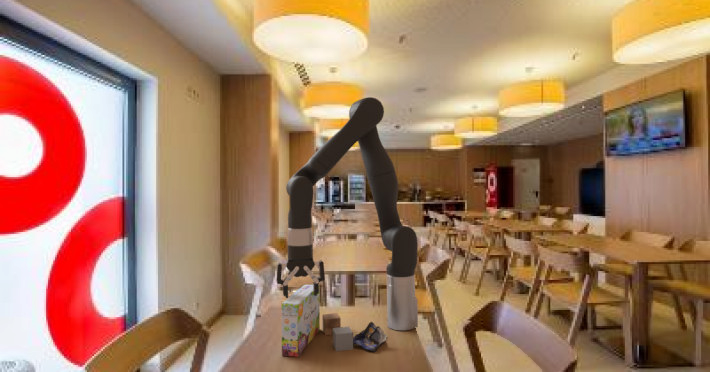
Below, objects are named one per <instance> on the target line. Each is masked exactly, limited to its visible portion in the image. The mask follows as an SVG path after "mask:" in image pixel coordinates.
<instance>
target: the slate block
mask: <svg viewBox="0 0 710 372" xmlns="http://www.w3.org/2000/svg"><path fill="white" fill-rule="evenodd" d="M353 338H354V332H353V330H352V329H351V327H350V326H341V327H340V328H333V334H332V345H333V348H334V350H335V352H342V351H343V352H344V351H350V350H354V344H353Z"/></svg>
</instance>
